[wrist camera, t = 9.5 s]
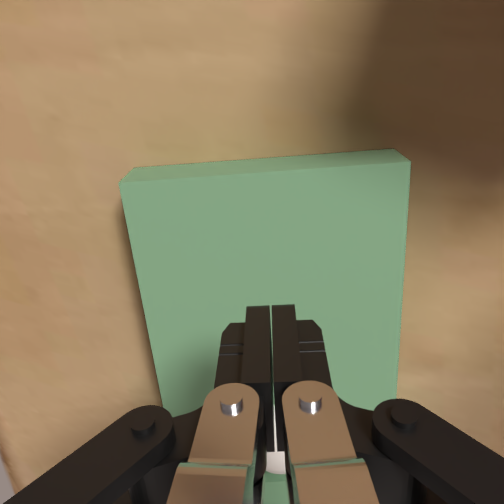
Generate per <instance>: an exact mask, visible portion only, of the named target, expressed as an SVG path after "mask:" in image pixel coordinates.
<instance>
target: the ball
mask: <svg viewBox="0 0 504 504" xmlns="http://www.w3.org/2000/svg"><path fill="white" fill-rule="evenodd" d="M274 442H275V452H267V466H266V471H267V472H270V473H273V474H286V472H285V453H284V451H283V452H277V438H276V421H275V404H274Z"/></svg>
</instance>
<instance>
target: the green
mask: <svg viewBox="0 0 504 504" xmlns="http://www.w3.org/2000/svg"><path fill="white" fill-rule="evenodd" d="M410 171H411V161H410V160H408V159H407V158H406V157H404V156H403V155H402V154H400V153H399V152H398V151H396V150H395V149H382V150H368V151H355V152H341V153H328V154H314V155H301V156H287V157H273V158H260V159H246V160H233V161H219V162H206V163H192V164H179V165H165V166H152V167H138V168H133V169H132V170H131V171H130V172H129V173H128V174H127V175H126V176H125V177H124V178H123V179H122V180H121V181H120V182H119V188H120V193H121V198H122V203H123V208H124V213H125V218H126V223H127V228H128V233H129V238H130V243H131V248H132V253H133V258H134V263H135V268H136V273H137V278H138V283H139V288H140V293H141V299H142V304H143V309H144V314H145V319H146V324H147V329H148V334H149V339H150V344H151V349H152V354H153V359H154V364H155V369H156V374H157V379H158V384H159V389H160V394H161V399H162V404H163V408H165V409H166V410H168V411H169V412H170V414H171V416H172V417H176V416H179V415H183V414H186V413H189V412H192V411H194V410H196V409H198V408H200V407H201V406H203V404H204V401H205V398H206V396H207V395H208V394H209V393H210V392H211V391H212V390H213V389H214V383H215V376H216V369H217V363H218V356H219V349H220V342H221V336H222V332H223V331H224V330H225V329H226V327H227V326H228V325H229V324H230V323H240V322H245V318H246V307H247V306H264V305H270V320H271V338H272V305H286V304H295V312H296V320H314V322H315V323H316V324H317V325H318V326H319V327H320V328H321V329H322V335H323V340H324V345H325V352H326V356H327V361H328V366H329V371H330V376H331V382H332V386H333V389H334V391H335V392H336V394H337V395H338V397H340V398H341V399H342V400H343V401H345V402H346V403H348V404H350V405H353V406H355V407H359V408H363V409H367V410H372V411H374V409H375V407H376V406H377V405H378V404H380V403H381V402H383V401H386V400H389V399H396V392H397V376H398V361H399V345H400V329H401V313H402V297H403V282H404V266H405V250H406V234H407V218H408V202H409V187H410ZM272 357H273V348H272ZM273 397H274V386H273ZM263 504H289V500H288V492H287V485H286V474H273V473H270V472H267V471H265V489H264V501H263Z"/></svg>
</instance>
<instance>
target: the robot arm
mask: <svg viewBox="0 0 504 504" xmlns="http://www.w3.org/2000/svg"><path fill="white" fill-rule="evenodd" d="M272 348H273V357H272ZM273 386H274V397H273ZM274 404H275V421H276V438H277V452H283V451H284V453H285V472H286V485H287V492H288V500H289V504H504V458H503V457H502V456H500V455H498V454H497V453H495V452H494V451H492V450H491V449H489V448H487V447H486V446H484V445H483V444H481V443H480V442H478V441H476V440H475V439H473V438H472V437H470V436H469V435H467V434H465V433H464V432H462V431H461V430H459V429H458V428H456V427H454V426H453V425H451V424H450V423H448V422H447V421H445V420H443V419H442V418H440V417H439V416H437V415H436V414H434V413H432V412H431V411H429V410H428V409H426V408H425V407H423V406H421V405H420V404H418V403H415V402H413V401H410V400H405V399H389V400H386V401H383V402H381V403H380V404H378V405H377V406H376V407H375V409H374V411H372V410H367V409H363V408H359V407H355V406H353V405H350V404H348V403H346V402H345V401H343V400H342V399H341V398H340V397H338V395H337V394H336V392H335V391H334V389H333V386H332V382H331V376H330V371H329V366H328V361H327V356H326V352H325V345H324V340H323V335H322V329H321V328H320V327H319V326H318V325H317V324H316V323H315V322H314V320H296V312H295V304H286V305H272V338H271V320H270V305H264V306H247V307H246V318H245V322H240V323H230V324H229V325H228V326H227V327H226V329H225V330H224V331H223V332H222V336H221V342H220V349H219V356H218V363H217V369H216V376H215V383H214V389H213V390H212V391H211V392H210V393H209V394H208V395H207V396H206V398H205V401H204V404H203V406H201V407H200V408H198V409H196V410H194V411H192V412H189V413H186V414H183V415H179V416H176V417H172V416H171V414H170V412H169V411H168V410H166V409H165V408H163V407H160V406H155V405H148V406H142V407H138V408H136V409H133V410H131V411H129V412H128V413H126V414H125V415H123V416H122V417H121V418H119V419H118V420H117V421H115V422H114V423H113V424H111V425H110V426H108V427H107V428H106V429H104V430H103V431H102V432H100V433H99V434H98V435H96V436H95V437H93V438H92V439H91V440H89V441H88V442H87V443H85V444H84V445H82V446H81V447H80V448H78V449H77V450H76V451H74V452H73V453H72V454H70V455H69V456H67V457H66V458H65V459H63V460H62V461H61V462H59V463H58V464H57V465H55V466H54V467H52V468H51V469H50V470H48V471H47V472H46V473H44V474H43V475H41V476H40V477H39V478H37V479H36V480H35V481H33V482H32V483H31V484H29V485H28V486H26V487H25V488H24V489H22V490H21V491H20V492H18V493H17V494H16V495H14V496H13V497H11V498H10V499H9V500H7V501H6V502H5V503H3V504H263V501H264V489H265V471H266V466H267V452H275V442H274Z"/></svg>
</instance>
